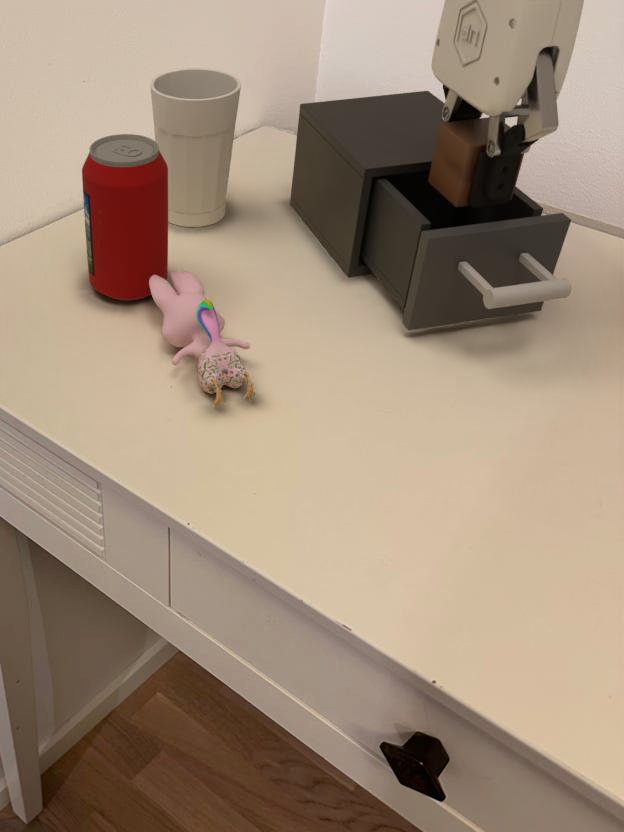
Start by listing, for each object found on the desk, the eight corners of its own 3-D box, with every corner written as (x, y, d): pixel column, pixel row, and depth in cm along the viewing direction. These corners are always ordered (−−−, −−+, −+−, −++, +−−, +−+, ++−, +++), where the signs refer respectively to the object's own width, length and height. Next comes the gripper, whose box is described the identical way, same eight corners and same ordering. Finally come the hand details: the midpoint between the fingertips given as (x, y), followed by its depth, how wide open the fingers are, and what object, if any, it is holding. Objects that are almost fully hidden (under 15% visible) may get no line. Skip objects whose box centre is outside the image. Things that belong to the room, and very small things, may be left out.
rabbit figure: (271, 409, 65) (196, 283, 74) (284, 349, 61) (203, 222, 69) (192, 428, 64) (125, 297, 72) (199, 368, 59) (127, 236, 68)
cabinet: (481, 258, 78) (509, 152, 72) (347, 276, 77) (365, 168, 70) (408, 188, 89) (427, 90, 82) (289, 203, 87) (299, 103, 80)
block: (481, 175, 70) (495, 116, 67) (512, 200, 66) (528, 139, 63) (427, 182, 69) (439, 122, 66) (455, 207, 66) (469, 146, 63)
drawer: (581, 349, 66) (617, 255, 61) (441, 371, 65) (466, 276, 59) (459, 233, 80) (480, 148, 75) (341, 248, 78) (354, 162, 73)
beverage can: (120, 258, 79) (115, 124, 71) (183, 280, 77) (185, 142, 68) (73, 291, 75) (62, 152, 67) (137, 315, 73) (134, 173, 64)
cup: (147, 196, 89) (145, 70, 80) (225, 191, 89) (232, 66, 81) (156, 233, 83) (155, 102, 75) (240, 228, 83) (249, 97, 75)
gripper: (420, -111, 61) (378, 151, 73) (558, -56, 49) (480, 247, 61) (519, -119, 62) (461, 140, 74) (679, -66, 50) (578, 233, 62)
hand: (470, 186), depth 68 cm, fingers closed on block, 4 cm apart
